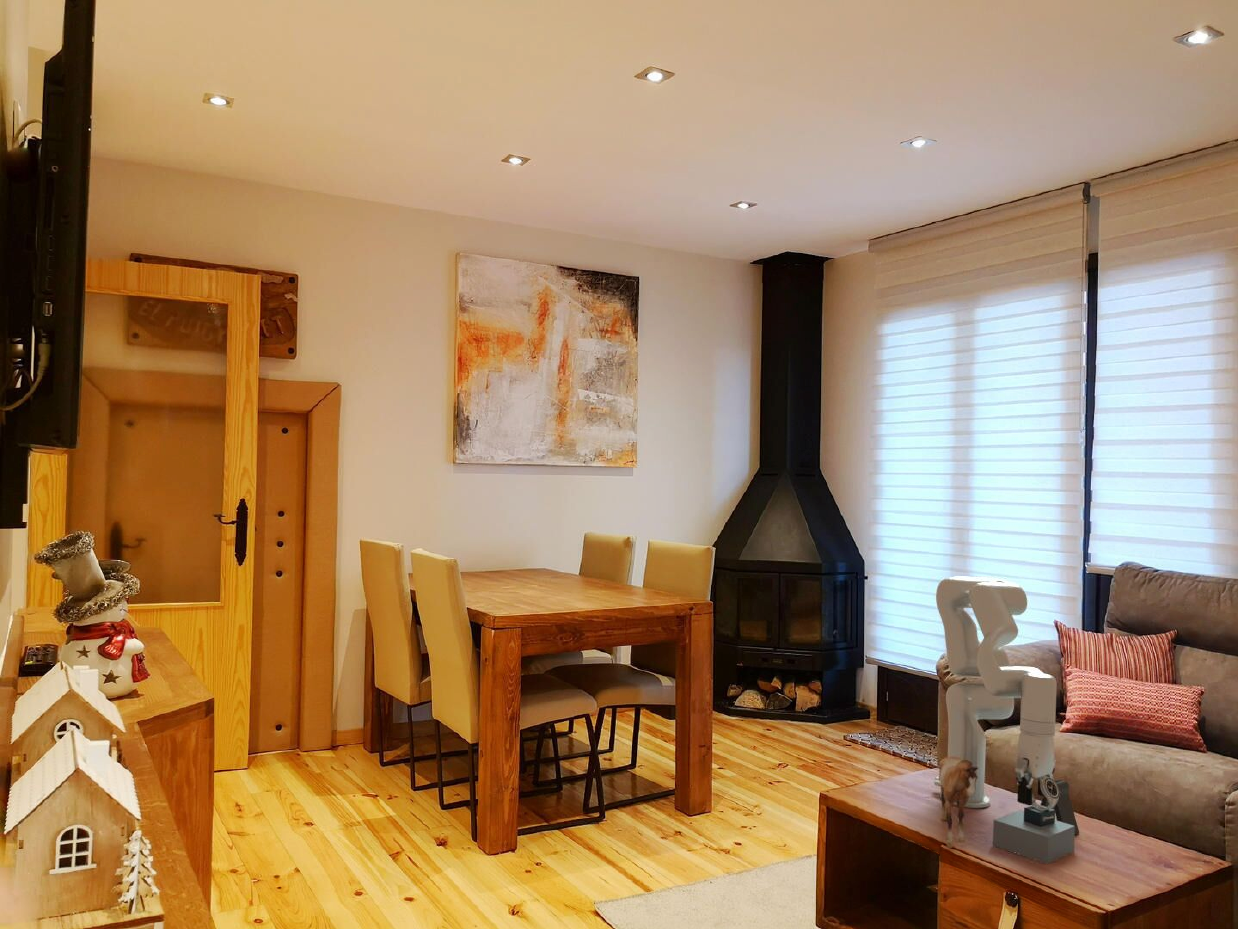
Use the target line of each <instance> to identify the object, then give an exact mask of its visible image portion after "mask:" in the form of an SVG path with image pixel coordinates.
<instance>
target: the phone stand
mask: <svg viewBox="0 0 1238 929" xmlns="http://www.w3.org/2000/svg"><path fill="white" fill-rule="evenodd" d="M1054 781H1055V783H1056V784H1057V786H1058V788H1059V792H1060V795H1059V798H1058V801H1057V804H1056V805H1055V806H1054V807H1053V808H1051V809H1054V810H1055V820H1056V821H1060V822H1063V823H1066V824H1070V825H1073V826H1075V833H1074V836H1076V835H1079V834H1080V830H1079V827H1078V823H1077V819H1076V815H1075V812H1074V809H1073V805H1072V801H1071V798H1070V795H1069V790H1070V785H1069V782H1067V781H1066V780H1062V779H1058V780H1054ZM1042 797H1043V796H1042ZM1040 802H1041V803H1040V804H1039V805H1042V806H1045V807H1048V805H1049V804H1050V803H1048V800H1047V798H1046V797H1043V798H1042V800H1041V801H1040Z"/></svg>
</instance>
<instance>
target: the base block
mask: <svg viewBox="0 0 1238 929" xmlns="http://www.w3.org/2000/svg"><path fill="white" fill-rule="evenodd" d="M992 825H993V828H992V846H993V847H995V846H997V847H996V848H998V847H999V848H998V849H1001V848H1002V850H1006V851H1008V852H1010V853H1013V852H1016V853H1019V854H1021V855H1020V856H1022V855H1024V856H1023V857H1025V856H1026V857H1025V858H1028V857H1029V858H1028V859H1030V860H1031V859H1032V860H1034V859H1036V860H1035V861H1037V860H1038V861H1037V862H1040V861H1041V862H1040V863H1043V864H1047V865H1049V864H1050V863H1053V862H1055V861H1057V860H1059V859H1060V860H1061V859H1062V858H1063V857H1066V856H1068V855H1070V854H1073V853H1075V835H1074V833H1075V826H1073V825H1070V824H1066V823H1063V822H1060V821H1057V819H1055V823H1054V824H1050V825H1046V826H1042V827H1039V826H1037V825H1034V824H1031V823H1028V822H1026V821H1024V809H1023V810H1022V809H1019V810H1016V811H1013V812H1012V813H1008V814H1005V815H1003V816H1000V817H997V818H994V819H993V823H992ZM1072 852H1073V853H1072ZM1016 853H1015V854H1016ZM1019 854H1018V855H1019ZM1056 859H1057V860H1056Z"/></svg>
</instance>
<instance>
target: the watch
mask: <svg viewBox="0 0 1238 929" xmlns="http://www.w3.org/2000/svg"><path fill="white" fill-rule="evenodd" d="M1025 778H1026V777H1025ZM1028 779H1029V778H1026V780H1027V782H1028ZM1039 781H1040V787H1041V791H1042V793H1043V794H1044V796H1045V797H1046V798H1047V800H1048V803H1050V804H1049V805H1048V807H1045V806H1042V805H1040V804H1038V802H1036V797H1035V795H1034V793H1033V791H1032V805H1030V806H1029V805H1028V806H1026V807H1023V811H1024V821H1026V822H1028V823H1031V824H1034V825H1037V826H1039V827H1042V826H1046V825H1050V824H1054V823H1055V820H1056V814H1055V810H1054V809H1051V808H1053V807H1054V806H1055V805H1056V804H1057V801H1058V798H1059V795H1060V792H1059V788H1058V786H1057V784H1056V783H1055V781H1056V780H1054V778H1053V779H1051V778H1049V777H1048V776H1046V775H1045V776H1042V777H1039ZM1030 788H1032V786H1031V787H1030Z"/></svg>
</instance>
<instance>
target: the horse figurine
mask: <svg viewBox="0 0 1238 929" xmlns="http://www.w3.org/2000/svg"><path fill="white" fill-rule="evenodd" d="M977 769H978V767H973V766H972V762H970V761H968V760H963V759H961V758H958V757H948V756H946V757H944V758H942V759H941V760H940V762H939V769H938V770H939V773H938V775H939V776H938V777H939V780H940V783H941V787H940V792H941V798H942V799H941V798H940V799H941V813H940V818H941V820H943V821H946V823H947V838H948V839H947V840H946V847H947V848H948V849H952V848H954V841H953V831H952V829H953V822H954V820H953V817H952V816H953V804H954V803H956V802H957V805H956V807H957V818H958V820H957V826H958V827H957V830H958V841H959V842H960V843H965V842H966V840H965V836H964V830H963V828H964V825H965V824H964V816H965V814H964V810H965V808H966V807H965V805H966V803H967V801H968V798H969V796H973V795H974V794H975V788H974V784H975V781H976V779H977V778H978V776H977V775H976V773H975V771H976V770H977Z"/></svg>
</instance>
